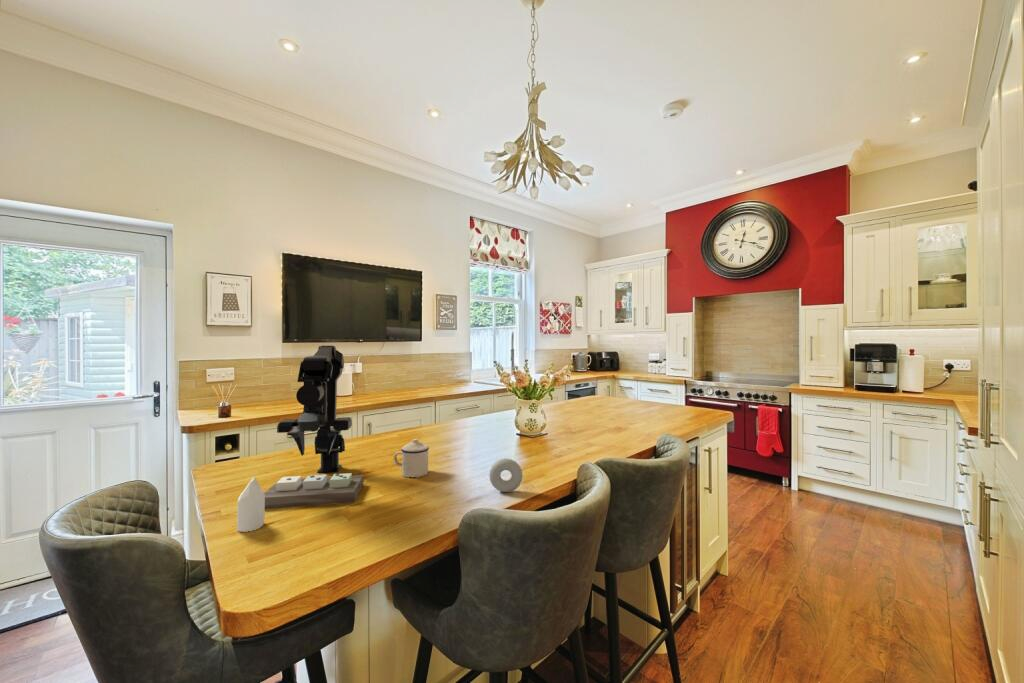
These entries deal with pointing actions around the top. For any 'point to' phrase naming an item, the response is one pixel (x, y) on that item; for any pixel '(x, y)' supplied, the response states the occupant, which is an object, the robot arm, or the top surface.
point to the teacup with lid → (413, 459)
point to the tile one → (288, 483)
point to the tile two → (315, 482)
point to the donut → (505, 484)
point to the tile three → (341, 480)
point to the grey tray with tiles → (313, 495)
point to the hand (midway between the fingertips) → (315, 454)
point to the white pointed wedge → (251, 507)
